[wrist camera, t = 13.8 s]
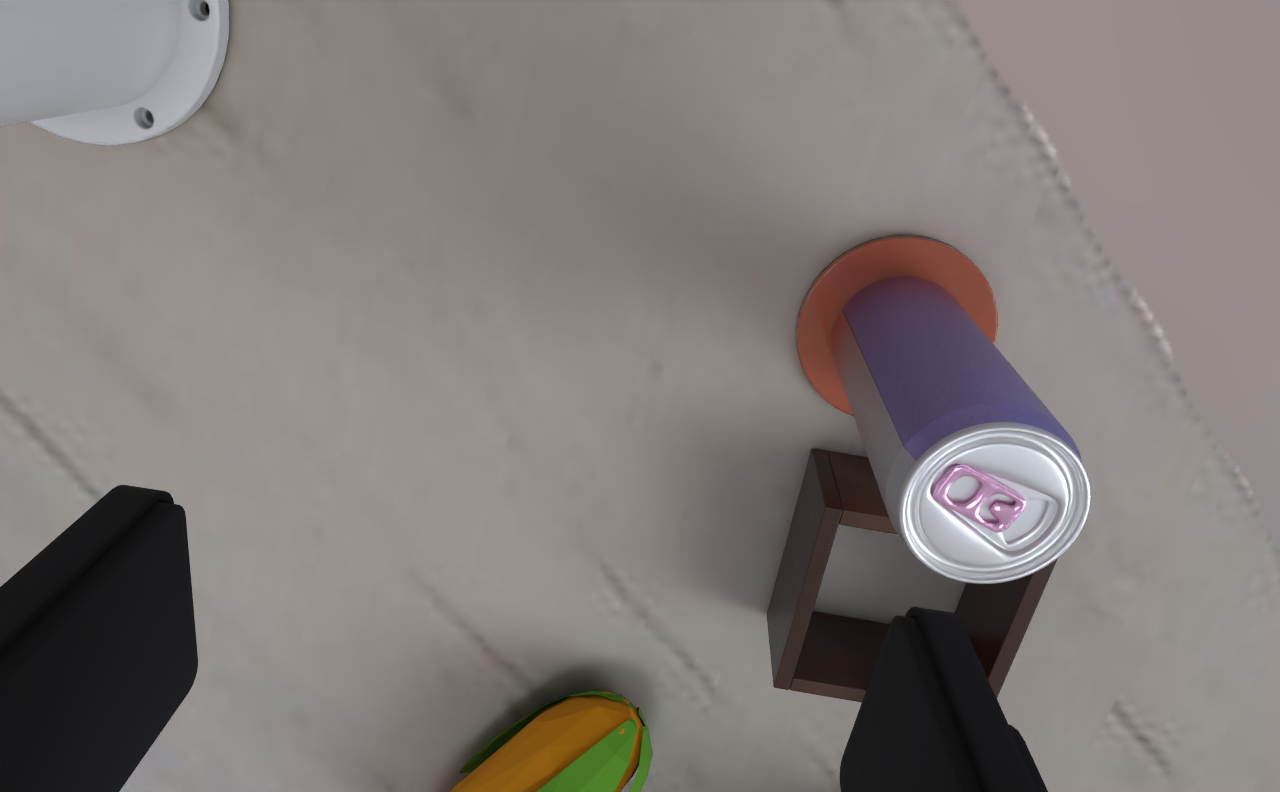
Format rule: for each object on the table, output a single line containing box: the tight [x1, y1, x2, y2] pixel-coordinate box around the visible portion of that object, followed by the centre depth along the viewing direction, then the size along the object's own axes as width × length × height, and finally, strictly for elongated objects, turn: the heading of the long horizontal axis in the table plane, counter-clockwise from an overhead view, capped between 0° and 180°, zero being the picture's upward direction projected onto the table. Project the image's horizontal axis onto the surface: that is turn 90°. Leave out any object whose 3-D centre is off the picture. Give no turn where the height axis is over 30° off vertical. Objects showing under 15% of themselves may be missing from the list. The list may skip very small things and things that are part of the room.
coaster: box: [796, 236, 998, 416], centre depth 40 cm, size 9×9×1 cm
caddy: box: [767, 449, 1058, 702], centre depth 42 cm, size 11×11×6 cm
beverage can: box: [831, 276, 1091, 584], centre depth 33 cm, size 6×6×15 cm
